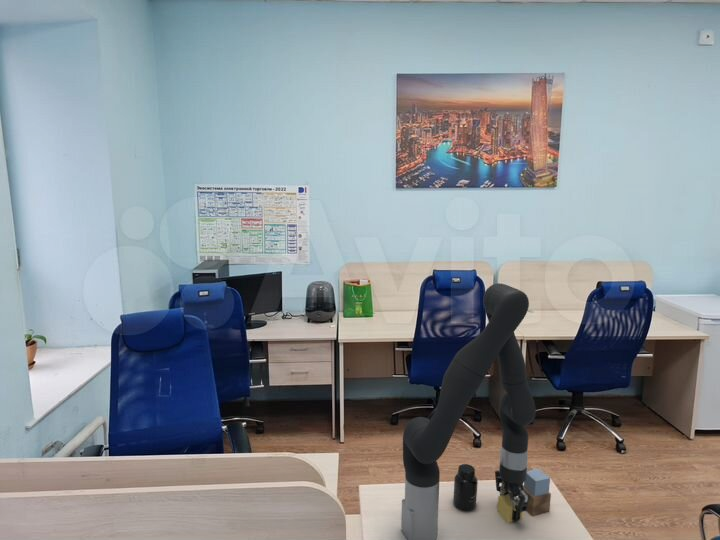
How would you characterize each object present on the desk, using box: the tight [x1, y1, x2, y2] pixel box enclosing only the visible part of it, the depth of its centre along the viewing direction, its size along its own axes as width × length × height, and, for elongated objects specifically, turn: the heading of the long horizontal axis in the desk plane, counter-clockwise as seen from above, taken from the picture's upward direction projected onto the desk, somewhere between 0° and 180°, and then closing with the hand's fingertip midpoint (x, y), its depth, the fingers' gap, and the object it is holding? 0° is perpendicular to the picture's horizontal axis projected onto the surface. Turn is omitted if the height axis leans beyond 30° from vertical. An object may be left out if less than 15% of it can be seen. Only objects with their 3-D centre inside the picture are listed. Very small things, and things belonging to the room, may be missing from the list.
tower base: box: [523, 484, 552, 517], centre depth 149 cm, size 6×6×6 cm
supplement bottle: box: [452, 463, 478, 512], centre depth 150 cm, size 7×7×12 cm
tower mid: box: [523, 468, 551, 497], centre depth 148 cm, size 5×5×5 cm
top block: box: [497, 494, 524, 523], centre depth 146 cm, size 5×5×5 cm
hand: (509, 513), depth 146 cm, fingers closed on top block, 5 cm apart
